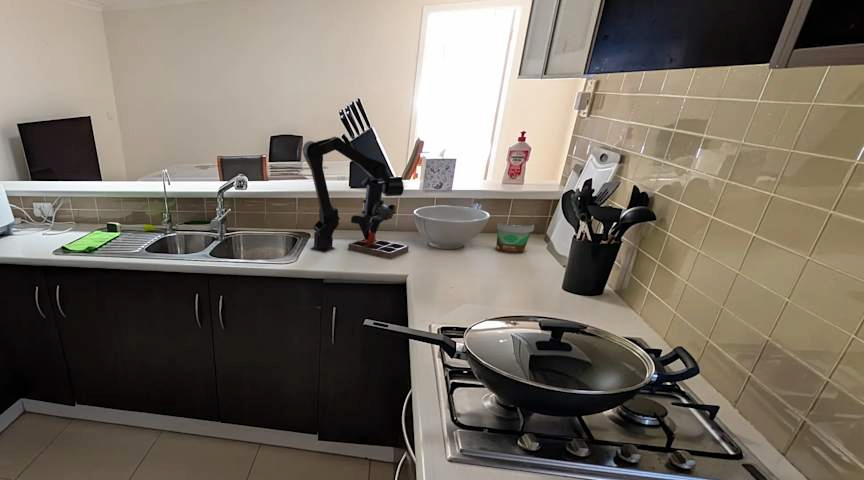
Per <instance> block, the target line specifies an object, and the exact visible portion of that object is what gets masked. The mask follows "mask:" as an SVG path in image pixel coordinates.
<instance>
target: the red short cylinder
mask: <svg viewBox="0 0 864 480" xmlns="http://www.w3.org/2000/svg"><path fill="white" fill-rule="evenodd" d="M376 234H377V232H376V233H374V232H369V237H368V239H367V240H366V239H365V238H364V237H363V239H364V241H365V242H374V241H375V239H376Z"/></svg>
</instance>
